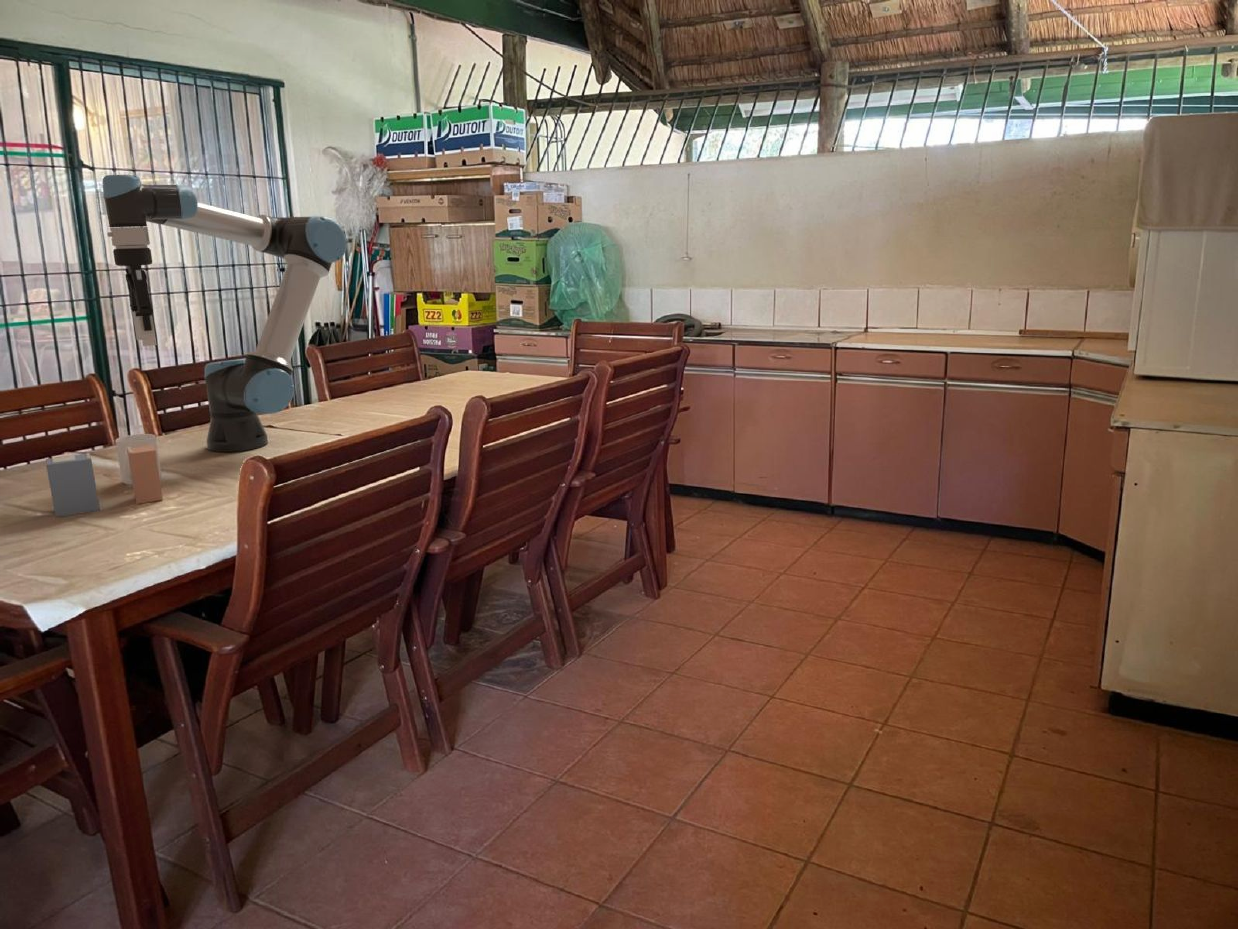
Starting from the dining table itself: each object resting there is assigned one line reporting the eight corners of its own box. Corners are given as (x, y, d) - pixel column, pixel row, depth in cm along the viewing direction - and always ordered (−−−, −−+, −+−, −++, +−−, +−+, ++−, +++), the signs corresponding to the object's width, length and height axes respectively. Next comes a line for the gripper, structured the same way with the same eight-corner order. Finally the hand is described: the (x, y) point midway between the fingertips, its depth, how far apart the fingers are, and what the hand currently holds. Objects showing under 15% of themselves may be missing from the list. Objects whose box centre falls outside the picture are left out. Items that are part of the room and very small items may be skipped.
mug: (149, 489, 208) (142, 444, 205) (110, 491, 207) (102, 446, 204) (167, 475, 219) (160, 433, 217) (130, 477, 218) (123, 434, 216)
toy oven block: (98, 503, 198) (89, 452, 195) (100, 510, 193) (91, 458, 190) (55, 509, 194) (45, 458, 191) (55, 516, 189) (45, 464, 186)
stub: (159, 493, 204) (152, 444, 201) (163, 499, 199) (155, 449, 196) (134, 497, 201) (126, 447, 198) (137, 503, 196) (128, 452, 193)
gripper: (108, 247, 214) (123, 338, 220) (117, 248, 194) (133, 349, 199) (144, 245, 218) (157, 335, 223) (156, 247, 197) (171, 346, 203)
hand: (146, 342), depth 211 cm, fingers open, 13 cm apart
